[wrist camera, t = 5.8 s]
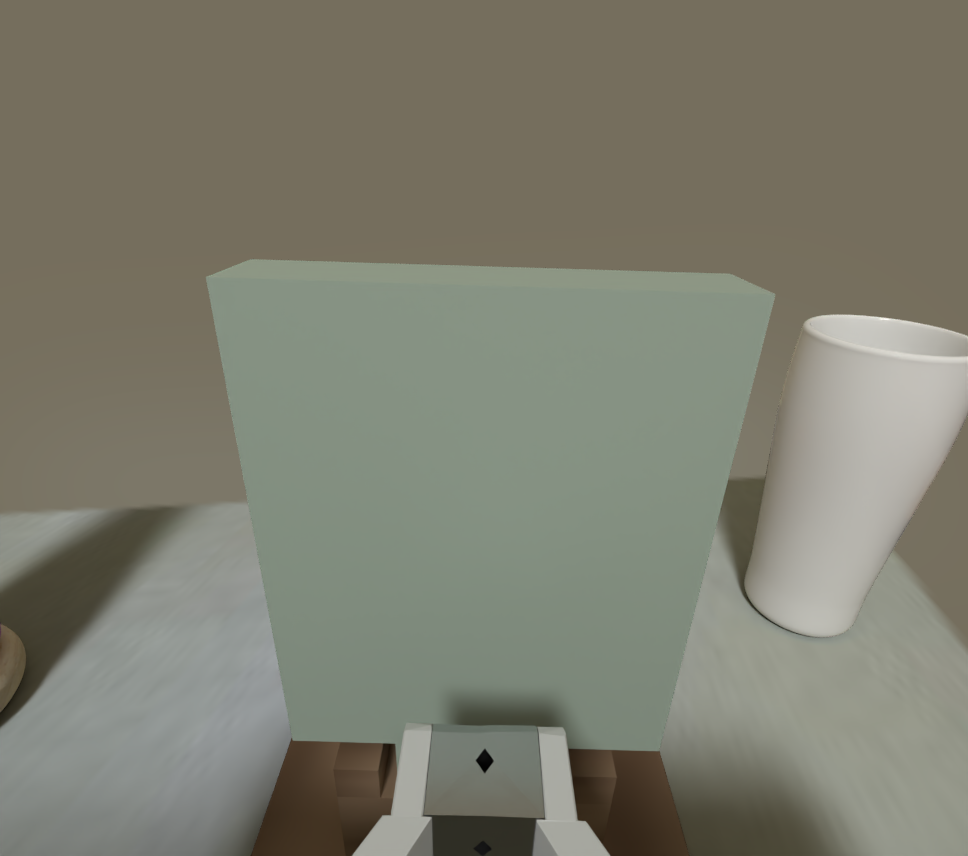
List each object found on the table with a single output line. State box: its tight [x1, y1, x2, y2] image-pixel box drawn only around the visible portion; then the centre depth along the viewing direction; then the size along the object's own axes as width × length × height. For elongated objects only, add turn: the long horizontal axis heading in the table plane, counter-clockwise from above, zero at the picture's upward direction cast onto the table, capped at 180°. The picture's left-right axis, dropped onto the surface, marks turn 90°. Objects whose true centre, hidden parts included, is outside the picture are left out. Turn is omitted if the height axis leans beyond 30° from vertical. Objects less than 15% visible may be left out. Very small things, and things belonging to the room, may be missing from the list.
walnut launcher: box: [251, 739, 689, 856], centre depth 25 cm, size 14×21×6 cm, turn 179°
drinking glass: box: [744, 315, 968, 638], centre depth 26 cm, size 7×7×15 cm
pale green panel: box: [206, 259, 775, 771], centre depth 13 cm, size 10×2×14 cm, turn 89°
